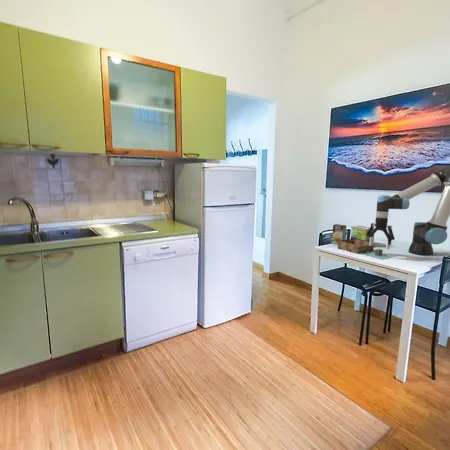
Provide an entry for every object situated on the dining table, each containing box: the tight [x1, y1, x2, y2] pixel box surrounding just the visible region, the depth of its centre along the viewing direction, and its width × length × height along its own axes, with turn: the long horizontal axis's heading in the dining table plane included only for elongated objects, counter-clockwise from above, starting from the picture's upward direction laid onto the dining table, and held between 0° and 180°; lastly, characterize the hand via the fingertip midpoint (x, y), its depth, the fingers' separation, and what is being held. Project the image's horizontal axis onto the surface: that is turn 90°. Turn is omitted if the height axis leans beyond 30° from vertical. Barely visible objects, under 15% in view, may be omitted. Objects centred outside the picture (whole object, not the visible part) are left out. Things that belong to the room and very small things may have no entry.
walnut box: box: [337, 238, 375, 255], centre depth 217 cm, size 18×18×6 cm
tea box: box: [350, 225, 376, 243], centre depth 234 cm, size 15×10×15 cm, turn 25°
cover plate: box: [360, 248, 397, 261], centre depth 201 cm, size 16×16×5 cm
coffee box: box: [331, 223, 347, 245], centre depth 236 cm, size 9×6×16 cm
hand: (379, 247), depth 201 cm, fingers open, 12 cm apart
